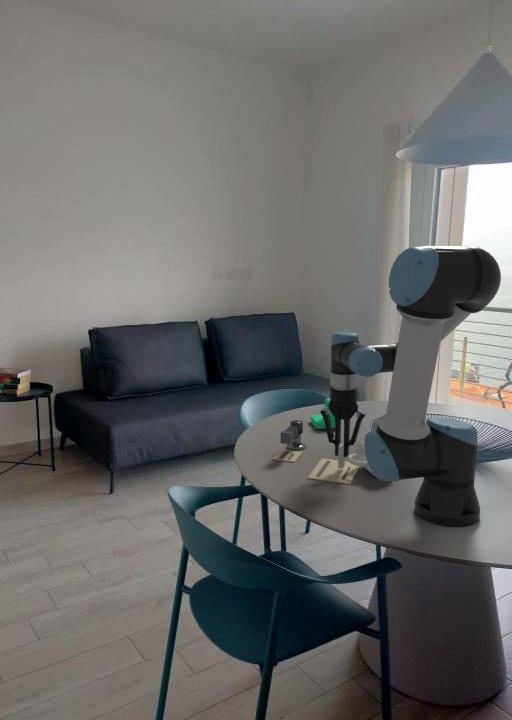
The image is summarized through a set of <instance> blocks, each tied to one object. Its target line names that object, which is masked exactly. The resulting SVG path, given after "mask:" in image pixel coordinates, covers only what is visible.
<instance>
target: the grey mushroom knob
mask: <svg viewBox="0 0 512 720" xmlns="http://www.w3.org/2000/svg"><path fill="white" fill-rule="evenodd" d="M286 447H287V448H289V450H291V451H302V449H303V450H305V449H306V448H307V446H306V444H305V443H304V442H302V434H298V435H297V436H296V438H295V439H294V440H293V441H292V443H291V444H286Z"/></svg>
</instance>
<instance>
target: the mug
mask: <svg viewBox="0 0 512 720" xmlns="http://www.w3.org/2000/svg"><path fill="white" fill-rule="evenodd" d="M364 441H365V439H364V440H362V441H361V442H360V443H359V444H358V445H357V446H356V448H355V452H354V453H352V454H349V455H348V456H347V457H346V459H347V462H349V463H351V464H352V465H355V466H360V467H359V468H361V467H362V468H365V469H366V470H367V471H368V472H369V473H370V474H372V475H373V476H374V477H375V478H377V477H376V476H375V475H374V474H373V473H372V471H371V469H370V467H369V465H368V462H367V459H366V455H365V449H364ZM355 459H356V460H355Z"/></svg>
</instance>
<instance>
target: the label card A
mask: <svg viewBox="0 0 512 720" xmlns="http://www.w3.org/2000/svg"><path fill="white" fill-rule="evenodd" d="M303 453H304V452H303V451H301V450H291V449H289V450H288V449H280V451H278V452H277V454H276V455H274V457H272V460H273V461H280V462H281V461H282V462H289V463H294V464H295V463H296V462H297V460H298V459H299V458H300V457H301V456H302V455H303ZM301 454H302V455H301Z"/></svg>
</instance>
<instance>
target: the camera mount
mask: <svg viewBox="0 0 512 720" xmlns="http://www.w3.org/2000/svg"><path fill="white" fill-rule="evenodd" d="M329 403H330V397H329V398H325V399H324V408H326V407H328V404H329ZM329 411H330V410H329ZM329 416H330V420H331V424H332V429H335V417H334V416H333V414H332V413H331V411H330V414H329ZM310 421H311V422H312V426H313V425H314V426H313V427H314V428H315V429H320V430H322V429H325V430H326V427H325V422H324V418H323V416H322V415H321V414H311V415H310Z"/></svg>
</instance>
